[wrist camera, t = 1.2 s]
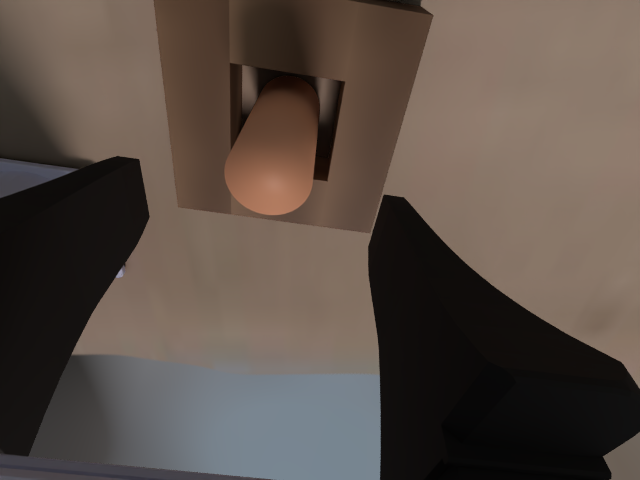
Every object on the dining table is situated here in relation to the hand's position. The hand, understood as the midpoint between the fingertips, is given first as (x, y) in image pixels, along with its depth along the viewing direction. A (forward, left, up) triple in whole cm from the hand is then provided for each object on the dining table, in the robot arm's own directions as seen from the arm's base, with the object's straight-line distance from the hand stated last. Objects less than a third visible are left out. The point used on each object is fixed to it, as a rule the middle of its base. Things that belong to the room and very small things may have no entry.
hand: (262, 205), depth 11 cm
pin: (0, 0, -9) cm, 9 cm away
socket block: (0, 0, -9) cm, 9 cm away
